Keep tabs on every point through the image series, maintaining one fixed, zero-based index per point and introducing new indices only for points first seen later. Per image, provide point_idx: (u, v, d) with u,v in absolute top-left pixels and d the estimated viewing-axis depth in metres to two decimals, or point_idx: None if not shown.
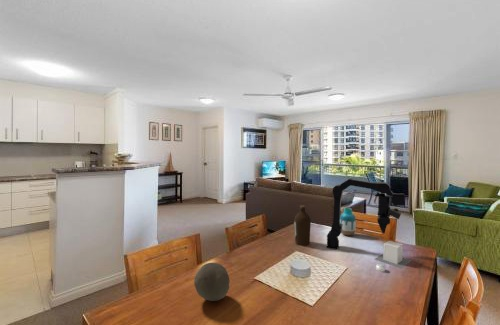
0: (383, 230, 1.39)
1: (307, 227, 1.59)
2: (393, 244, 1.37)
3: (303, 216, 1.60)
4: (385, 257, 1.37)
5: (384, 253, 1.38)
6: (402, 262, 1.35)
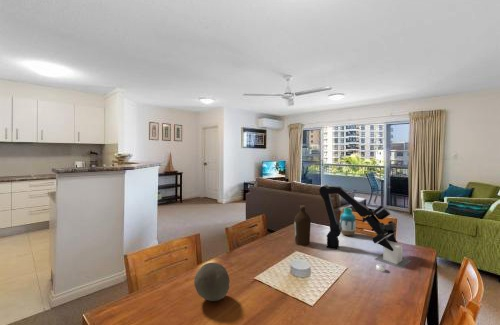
0: (389, 248, 1.35)
1: (307, 227, 1.59)
2: (393, 244, 1.37)
3: (303, 216, 1.60)
4: (385, 257, 1.37)
5: (384, 253, 1.38)
6: (402, 262, 1.35)
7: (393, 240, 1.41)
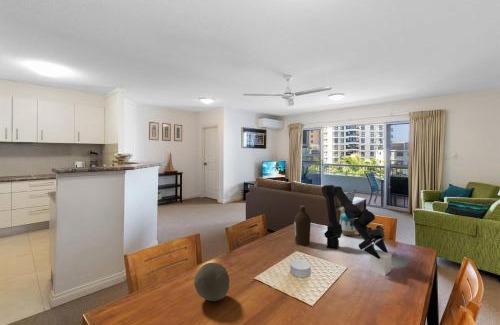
0: (376, 255, 1.23)
1: (307, 227, 1.59)
2: (381, 254, 1.25)
3: (303, 216, 1.60)
4: (372, 268, 1.26)
5: (371, 263, 1.26)
6: (402, 262, 1.35)
7: (382, 246, 1.30)
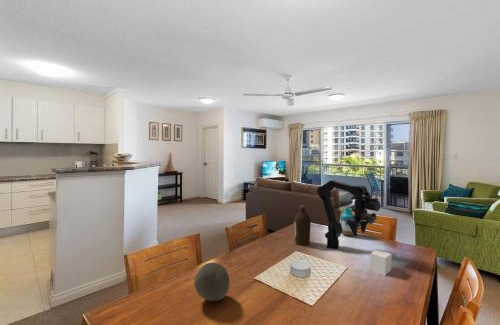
0: (354, 233, 1.39)
1: (307, 227, 1.59)
2: (381, 254, 1.25)
3: (303, 216, 1.60)
4: (372, 268, 1.26)
5: (371, 263, 1.26)
6: (402, 262, 1.35)
7: (363, 226, 1.45)
